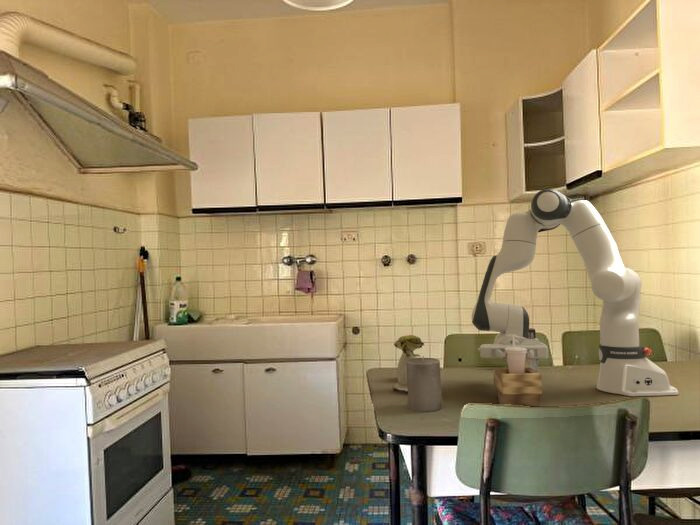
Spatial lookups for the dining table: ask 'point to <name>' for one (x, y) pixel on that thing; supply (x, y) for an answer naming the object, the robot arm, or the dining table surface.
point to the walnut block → (519, 399)
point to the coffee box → (532, 362)
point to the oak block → (518, 381)
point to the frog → (405, 357)
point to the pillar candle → (424, 384)
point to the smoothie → (516, 358)
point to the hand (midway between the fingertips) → (516, 355)
